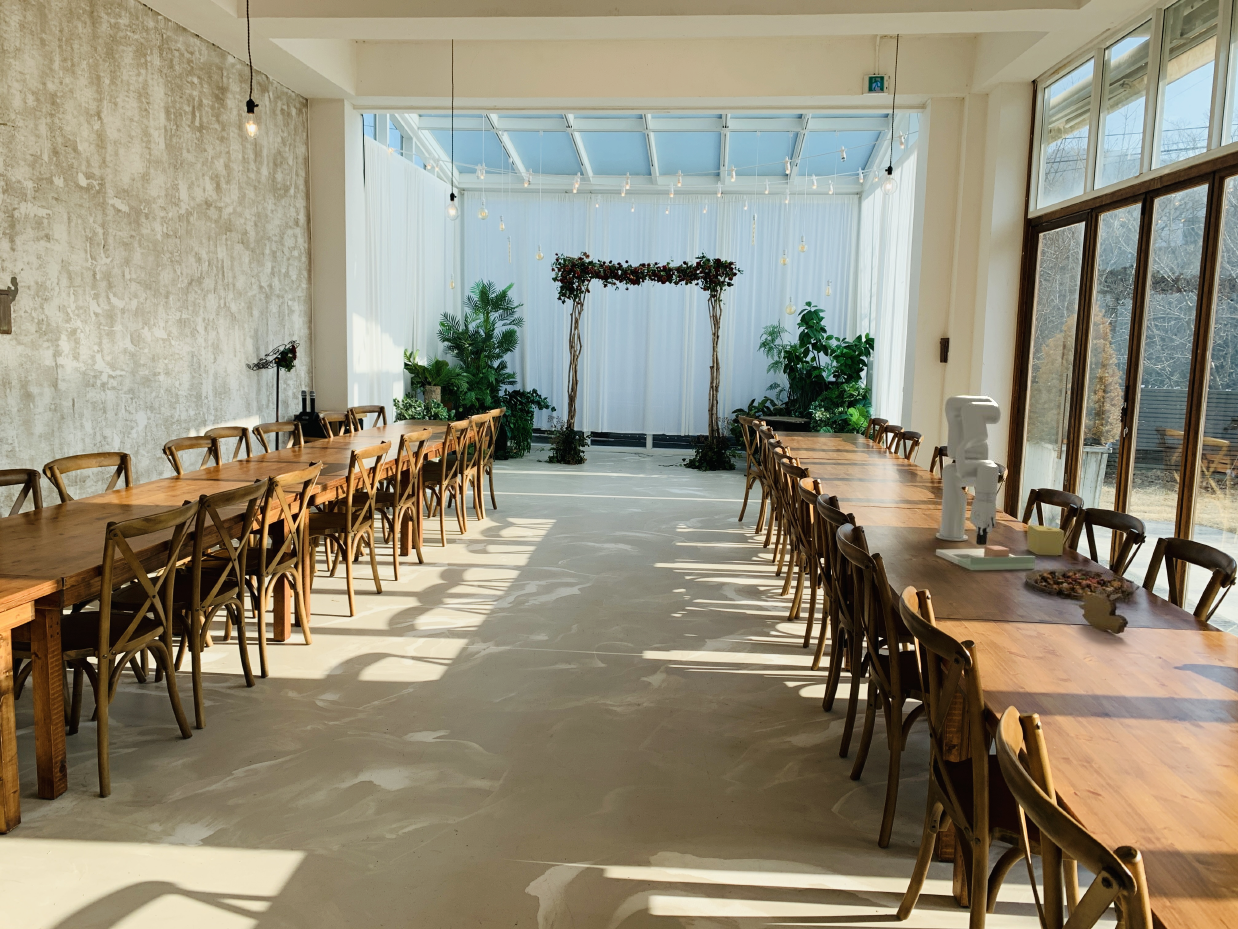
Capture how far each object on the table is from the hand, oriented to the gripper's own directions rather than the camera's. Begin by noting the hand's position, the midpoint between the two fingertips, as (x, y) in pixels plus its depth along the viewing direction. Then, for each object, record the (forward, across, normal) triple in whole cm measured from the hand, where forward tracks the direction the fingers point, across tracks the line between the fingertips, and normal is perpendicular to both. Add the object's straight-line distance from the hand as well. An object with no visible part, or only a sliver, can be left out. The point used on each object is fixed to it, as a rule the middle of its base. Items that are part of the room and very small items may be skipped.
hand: (981, 544), depth 332 cm
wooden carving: (+3, +83, -15) cm, 84 cm away
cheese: (+7, -8, +33) cm, 34 cm away
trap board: (+6, +3, -1) cm, 6 cm away
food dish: (+5, +44, +8) cm, 45 cm away
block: (+3, +12, -1) cm, 12 cm away
